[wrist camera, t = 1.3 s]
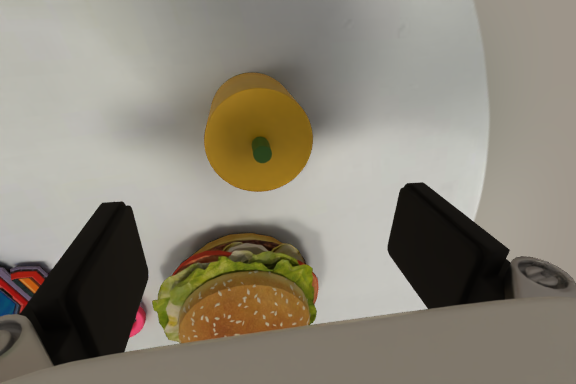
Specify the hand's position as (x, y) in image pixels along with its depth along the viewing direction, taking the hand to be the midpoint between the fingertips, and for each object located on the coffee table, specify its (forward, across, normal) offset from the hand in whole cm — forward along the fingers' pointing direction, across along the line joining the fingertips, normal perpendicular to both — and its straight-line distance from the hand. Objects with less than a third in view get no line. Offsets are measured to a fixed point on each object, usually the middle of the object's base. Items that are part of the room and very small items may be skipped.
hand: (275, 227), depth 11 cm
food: (+14, +2, +16) cm, 21 cm away
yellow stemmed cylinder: (+14, 0, 0) cm, 14 cm away
